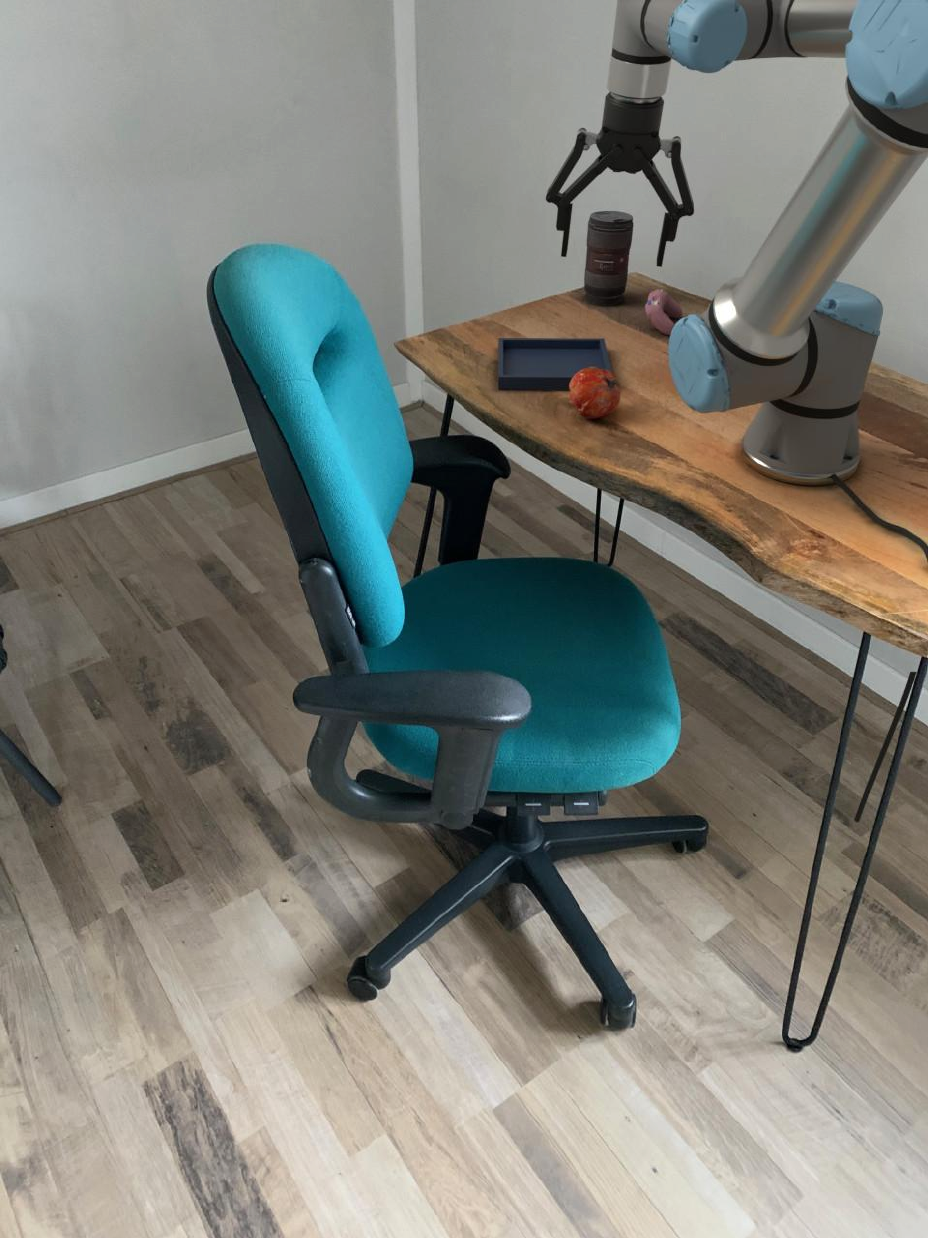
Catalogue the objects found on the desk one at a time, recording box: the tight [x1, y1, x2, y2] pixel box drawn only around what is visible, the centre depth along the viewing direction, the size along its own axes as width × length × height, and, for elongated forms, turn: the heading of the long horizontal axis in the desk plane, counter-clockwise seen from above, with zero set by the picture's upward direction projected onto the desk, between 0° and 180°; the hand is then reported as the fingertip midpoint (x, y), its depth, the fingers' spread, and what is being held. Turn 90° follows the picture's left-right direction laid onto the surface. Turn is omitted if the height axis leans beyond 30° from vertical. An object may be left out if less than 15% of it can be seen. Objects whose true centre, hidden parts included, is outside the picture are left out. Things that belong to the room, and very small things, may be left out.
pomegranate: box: [569, 367, 621, 420], centre depth 138 cm, size 7×7×10 cm
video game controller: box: [644, 288, 683, 337], centre depth 166 cm, size 10×5×7 cm, turn 162°
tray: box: [497, 337, 613, 391], centre depth 152 cm, size 16×18×2 cm
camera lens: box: [583, 210, 635, 307], centre depth 173 cm, size 8×8×15 cm
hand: (611, 257), depth 136 cm, fingers open, 13 cm apart
